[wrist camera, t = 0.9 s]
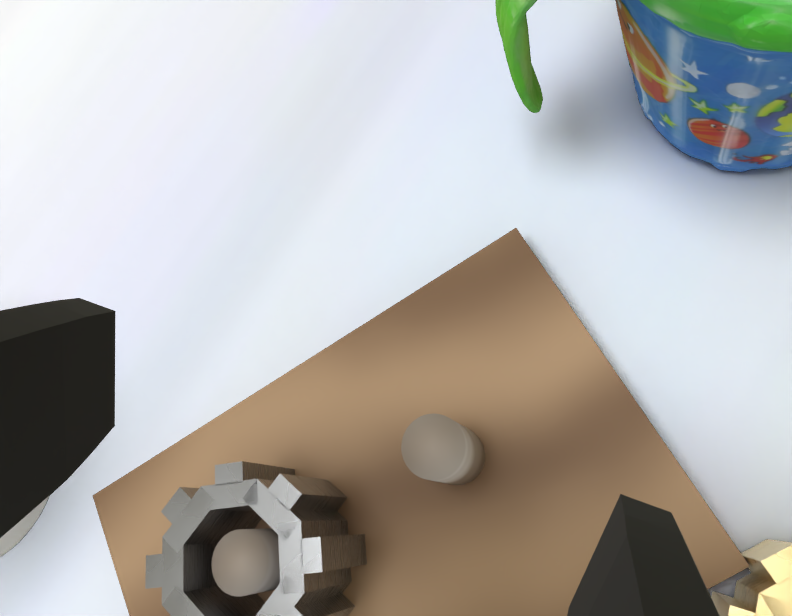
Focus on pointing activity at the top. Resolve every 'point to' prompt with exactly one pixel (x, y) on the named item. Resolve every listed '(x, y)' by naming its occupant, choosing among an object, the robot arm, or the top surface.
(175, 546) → the gear
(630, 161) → the top surface
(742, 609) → the brass gear
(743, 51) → the snack cup
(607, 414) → the gear board
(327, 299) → the top surface
